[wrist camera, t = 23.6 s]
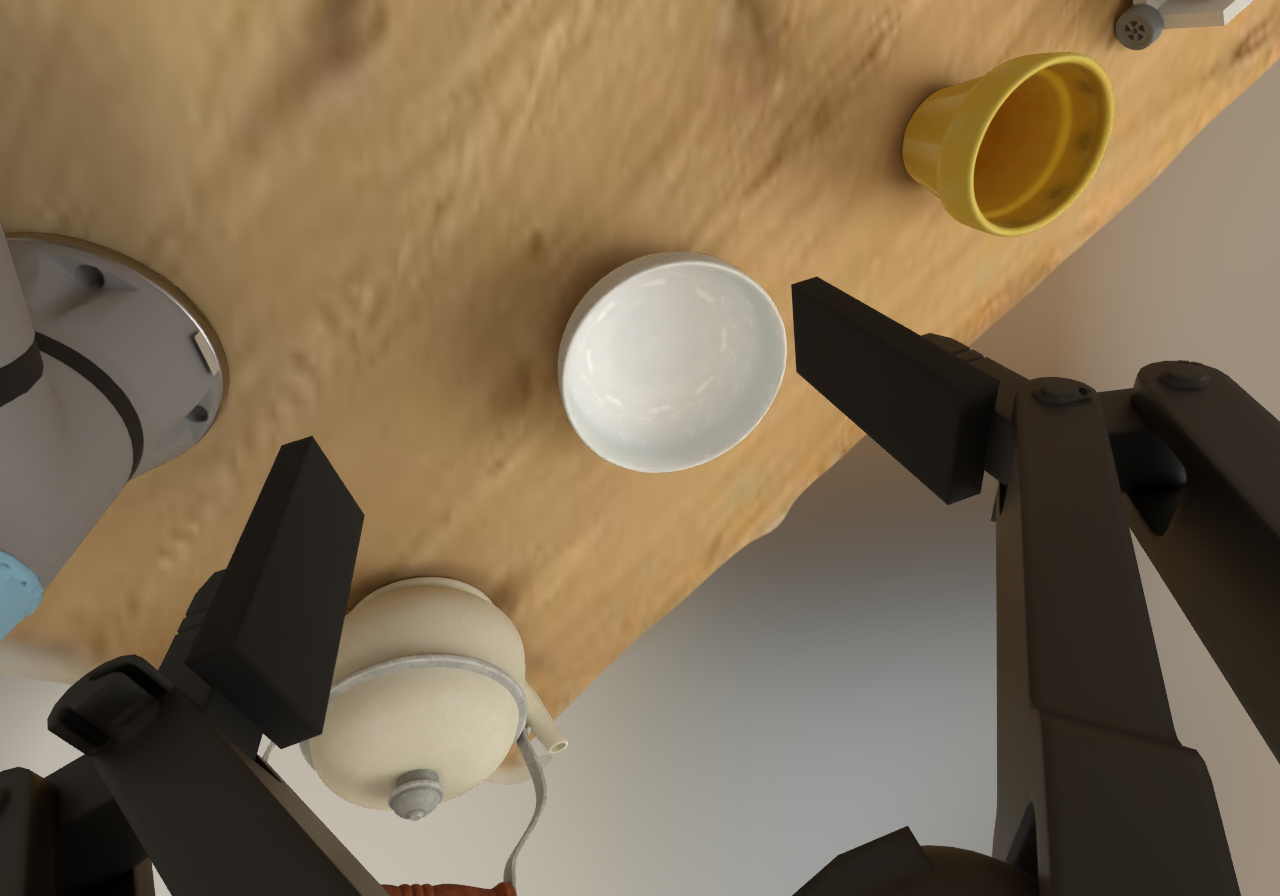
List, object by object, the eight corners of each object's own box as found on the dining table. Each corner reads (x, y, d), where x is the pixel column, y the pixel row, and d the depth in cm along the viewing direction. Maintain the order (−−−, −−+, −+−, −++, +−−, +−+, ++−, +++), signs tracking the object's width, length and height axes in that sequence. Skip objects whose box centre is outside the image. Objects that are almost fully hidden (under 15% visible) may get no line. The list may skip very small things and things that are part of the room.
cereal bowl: (529, 419, 48) (540, 467, 43) (571, 210, 41) (590, 233, 35) (712, 439, 54) (743, 483, 49) (779, 260, 47) (825, 287, 41)
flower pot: (851, 159, 44) (939, 179, 36) (951, 20, 41) (1072, 8, 33) (927, 234, 49) (1020, 266, 41) (1022, 116, 46) (1142, 126, 38)
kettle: (269, 670, 55) (164, 1020, 35) (342, 527, 49) (267, 850, 29) (511, 707, 67) (537, 982, 47) (593, 596, 61) (664, 857, 41)
